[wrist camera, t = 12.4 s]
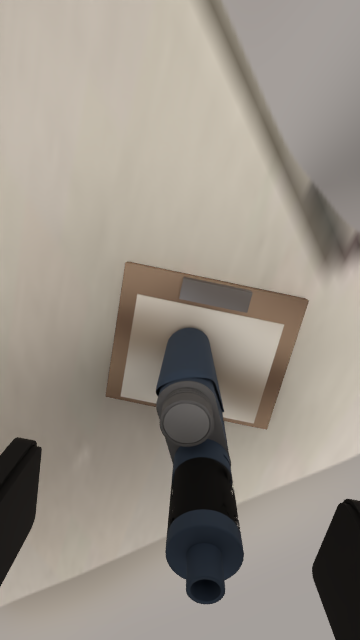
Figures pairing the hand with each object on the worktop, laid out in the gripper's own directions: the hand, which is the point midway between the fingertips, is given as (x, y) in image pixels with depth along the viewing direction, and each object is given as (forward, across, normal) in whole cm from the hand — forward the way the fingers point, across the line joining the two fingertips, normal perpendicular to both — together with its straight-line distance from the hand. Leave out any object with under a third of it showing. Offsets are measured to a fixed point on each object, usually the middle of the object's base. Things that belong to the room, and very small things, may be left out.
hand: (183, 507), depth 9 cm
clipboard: (+11, -1, -1) cm, 11 cm away
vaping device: (+11, 0, 0) cm, 11 cm away
